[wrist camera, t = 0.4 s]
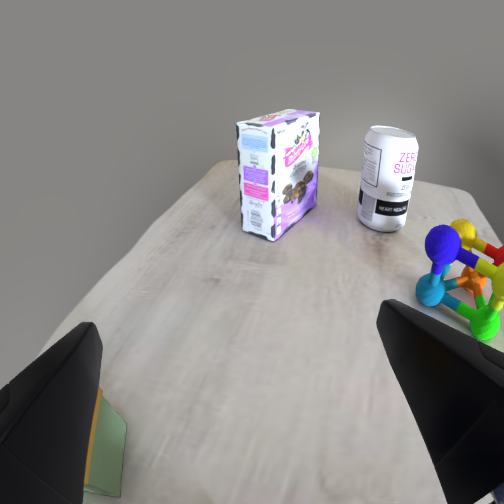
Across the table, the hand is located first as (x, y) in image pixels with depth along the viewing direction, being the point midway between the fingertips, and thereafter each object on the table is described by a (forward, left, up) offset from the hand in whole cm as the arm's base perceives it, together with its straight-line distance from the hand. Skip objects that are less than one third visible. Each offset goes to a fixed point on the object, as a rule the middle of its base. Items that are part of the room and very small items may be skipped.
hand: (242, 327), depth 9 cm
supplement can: (+34, -23, -17) cm, 45 cm away
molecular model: (+13, -24, -17) cm, 33 cm away
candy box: (+37, -7, -17) cm, 41 cm away
